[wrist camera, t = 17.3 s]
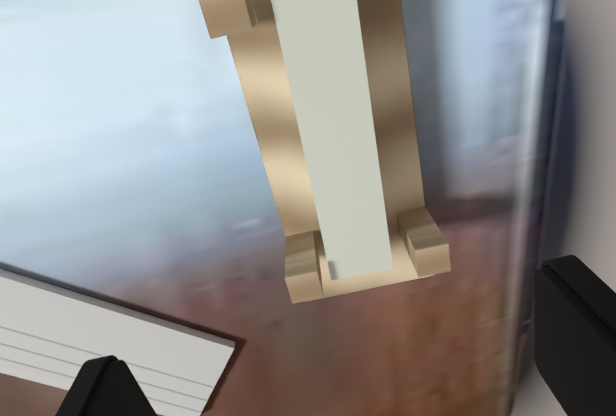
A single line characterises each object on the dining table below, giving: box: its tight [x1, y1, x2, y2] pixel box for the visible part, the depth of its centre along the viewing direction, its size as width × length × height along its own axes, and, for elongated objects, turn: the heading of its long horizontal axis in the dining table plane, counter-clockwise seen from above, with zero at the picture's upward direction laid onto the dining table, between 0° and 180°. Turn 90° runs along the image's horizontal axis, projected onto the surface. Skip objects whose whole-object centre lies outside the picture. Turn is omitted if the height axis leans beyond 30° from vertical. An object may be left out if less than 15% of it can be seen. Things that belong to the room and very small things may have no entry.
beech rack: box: [199, 0, 451, 303], centre depth 26 cm, size 26×10×6 cm, turn 13°
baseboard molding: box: [0, 269, 235, 416], centre depth 35 cm, size 31×3×12 cm
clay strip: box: [271, 0, 393, 280], centre depth 25 cm, size 20×4×4 cm, turn 11°
